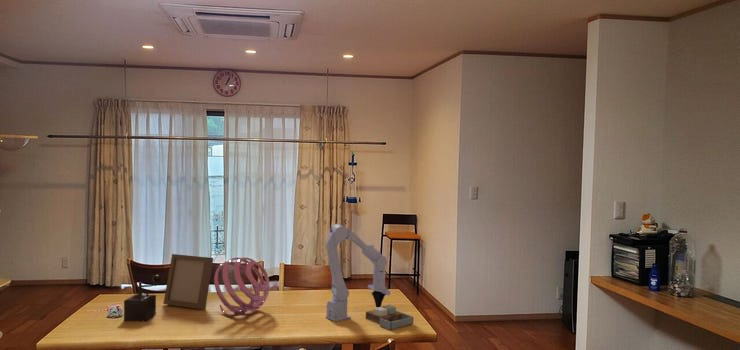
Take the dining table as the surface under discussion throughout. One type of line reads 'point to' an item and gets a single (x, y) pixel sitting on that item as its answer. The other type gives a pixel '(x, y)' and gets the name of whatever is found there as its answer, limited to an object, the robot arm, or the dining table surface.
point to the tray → (397, 322)
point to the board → (389, 317)
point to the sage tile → (390, 309)
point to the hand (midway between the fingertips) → (378, 306)
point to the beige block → (380, 311)
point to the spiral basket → (243, 286)
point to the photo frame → (188, 281)
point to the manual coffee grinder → (141, 304)
